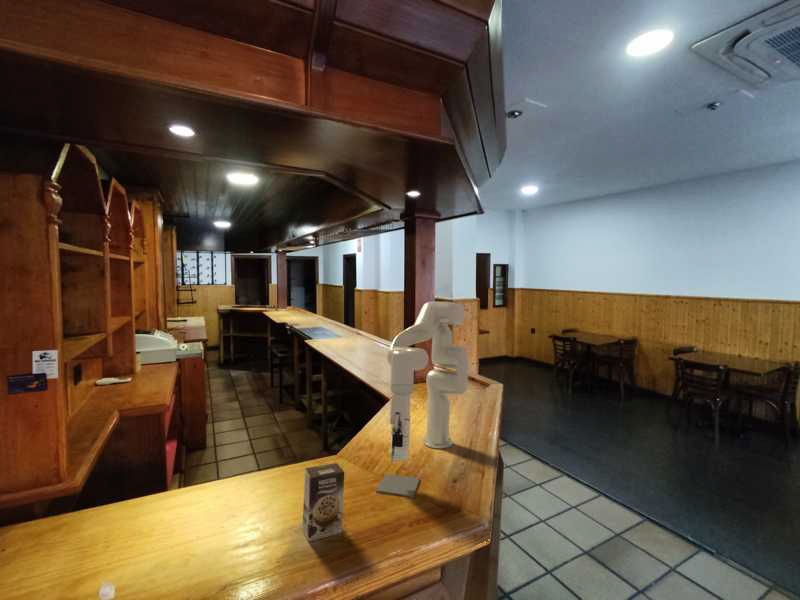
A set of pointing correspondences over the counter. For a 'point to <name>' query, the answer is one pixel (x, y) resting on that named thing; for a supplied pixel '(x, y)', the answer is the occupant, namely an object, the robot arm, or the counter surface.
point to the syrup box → (403, 451)
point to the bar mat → (398, 485)
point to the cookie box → (323, 501)
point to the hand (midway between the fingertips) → (400, 441)
